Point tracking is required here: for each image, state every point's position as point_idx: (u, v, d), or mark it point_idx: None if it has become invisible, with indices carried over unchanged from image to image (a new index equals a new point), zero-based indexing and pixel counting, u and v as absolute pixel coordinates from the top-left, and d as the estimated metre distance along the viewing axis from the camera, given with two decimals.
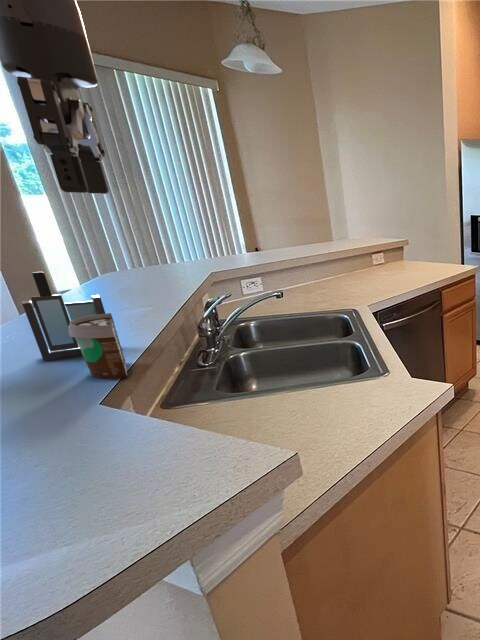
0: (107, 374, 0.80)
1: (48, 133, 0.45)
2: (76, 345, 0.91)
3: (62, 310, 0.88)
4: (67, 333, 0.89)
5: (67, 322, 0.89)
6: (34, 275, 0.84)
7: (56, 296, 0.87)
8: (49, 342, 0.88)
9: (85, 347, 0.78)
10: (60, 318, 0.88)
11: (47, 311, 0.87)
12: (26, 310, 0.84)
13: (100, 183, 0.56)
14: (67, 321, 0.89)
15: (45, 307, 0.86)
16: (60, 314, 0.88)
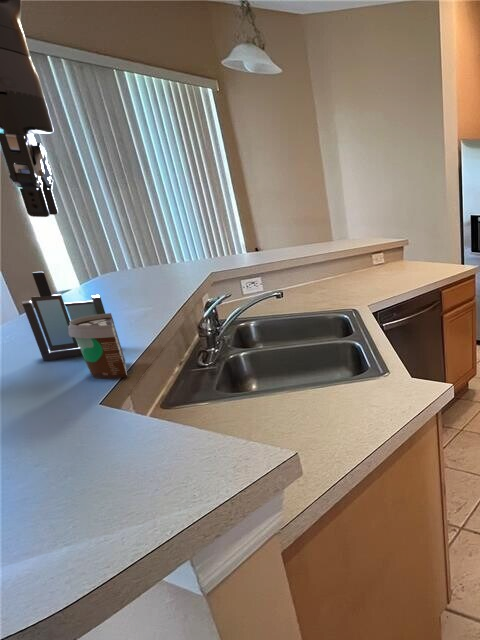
0: (107, 374, 0.80)
1: (21, 174, 0.60)
2: (76, 345, 0.91)
3: (62, 310, 0.88)
4: (67, 333, 0.89)
5: (67, 322, 0.89)
6: (34, 275, 0.84)
7: (56, 296, 0.87)
8: (49, 342, 0.88)
9: (85, 347, 0.78)
10: (60, 318, 0.88)
11: (47, 311, 0.87)
12: (26, 310, 0.84)
13: (51, 206, 0.70)
14: (67, 321, 0.89)
15: (45, 307, 0.86)
16: (60, 314, 0.88)
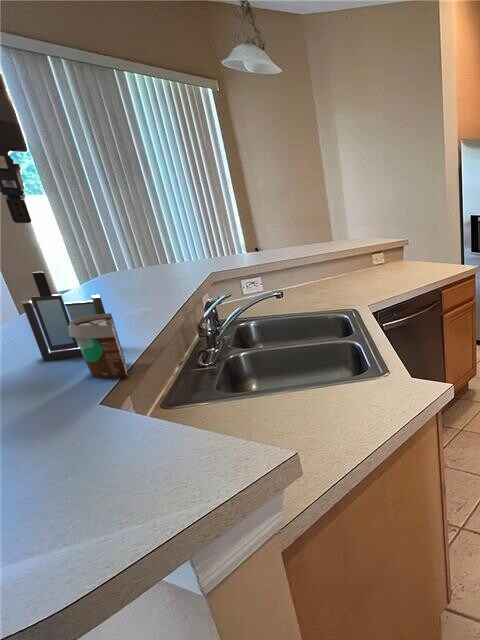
0: (107, 374, 0.80)
1: (9, 188, 0.73)
2: (76, 345, 0.91)
3: (62, 310, 0.88)
4: (67, 333, 0.89)
5: (67, 322, 0.89)
6: (34, 275, 0.84)
7: (56, 296, 0.87)
8: (49, 342, 0.88)
9: (85, 347, 0.78)
10: (60, 318, 0.88)
11: (47, 311, 0.87)
12: (26, 310, 0.84)
13: None
14: (67, 321, 0.89)
15: (45, 307, 0.86)
16: (60, 314, 0.88)
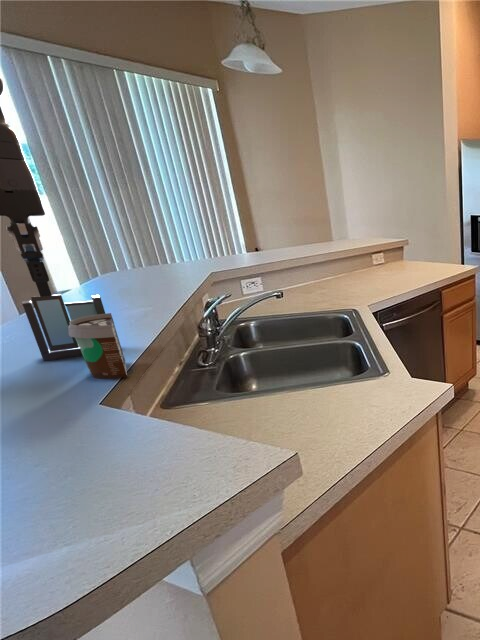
0: (107, 374, 0.80)
1: (30, 252, 0.79)
2: (76, 345, 0.91)
3: (62, 310, 0.88)
4: (67, 333, 0.89)
5: (67, 322, 0.89)
6: None
7: (56, 296, 0.87)
8: (49, 342, 0.88)
9: (85, 347, 0.78)
10: (60, 318, 0.88)
11: (47, 311, 0.87)
12: (26, 310, 0.84)
13: None
14: (67, 321, 0.89)
15: (45, 307, 0.86)
16: (60, 314, 0.88)
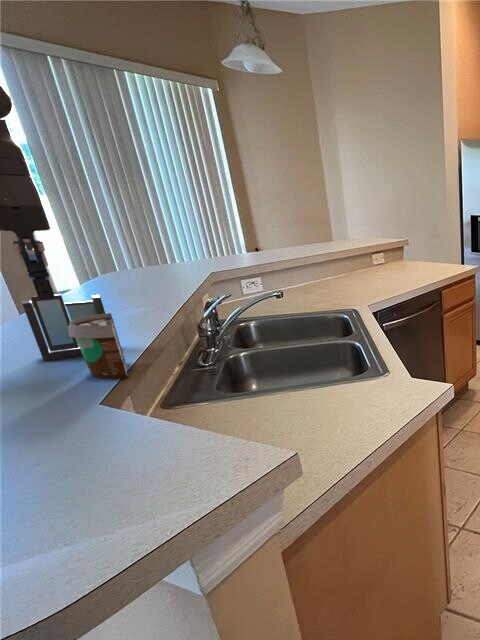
0: (107, 374, 0.80)
1: (36, 271, 0.82)
2: (76, 345, 0.91)
3: (62, 310, 0.88)
4: (67, 333, 0.89)
5: (67, 322, 0.89)
6: None
7: (56, 296, 0.87)
8: (49, 342, 0.88)
9: (85, 347, 0.78)
10: (60, 318, 0.88)
11: (47, 311, 0.87)
12: (26, 310, 0.84)
13: None
14: (67, 321, 0.89)
15: (45, 307, 0.86)
16: (60, 314, 0.88)
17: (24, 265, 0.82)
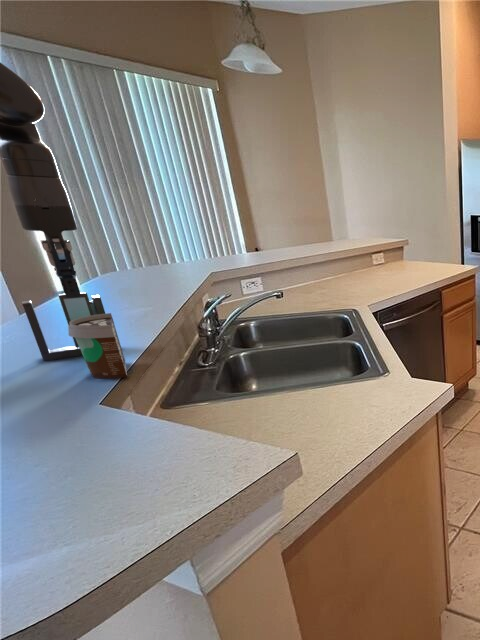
0: (107, 374, 0.80)
1: (64, 270, 0.85)
2: None
3: (88, 307, 0.91)
4: None
5: None
6: None
7: (82, 294, 0.89)
8: (75, 339, 0.91)
9: (85, 347, 0.78)
10: (85, 316, 0.91)
11: (73, 309, 0.89)
12: (26, 310, 0.84)
13: None
14: None
15: (71, 305, 0.89)
16: (85, 311, 0.91)
17: (53, 264, 0.84)
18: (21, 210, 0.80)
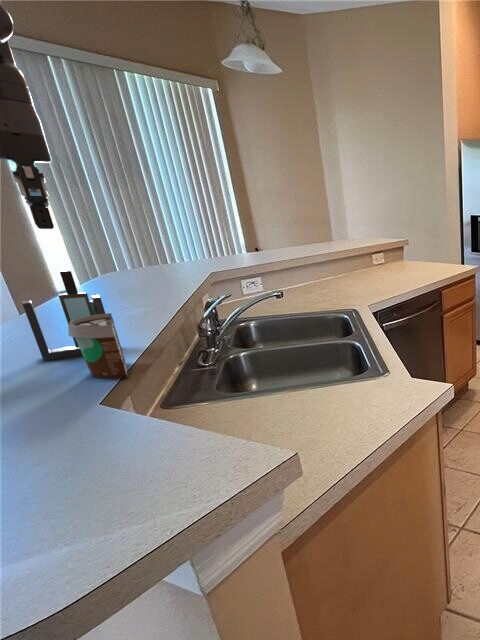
0: (107, 374, 0.80)
1: (35, 196, 0.78)
2: None
3: (88, 307, 0.91)
4: None
5: None
6: (62, 274, 0.86)
7: (82, 294, 0.89)
8: (75, 339, 0.91)
9: (85, 347, 0.78)
10: None
11: (73, 309, 0.89)
12: (26, 310, 0.84)
13: None
14: None
15: (71, 305, 0.89)
16: (85, 311, 0.91)
17: None
18: None
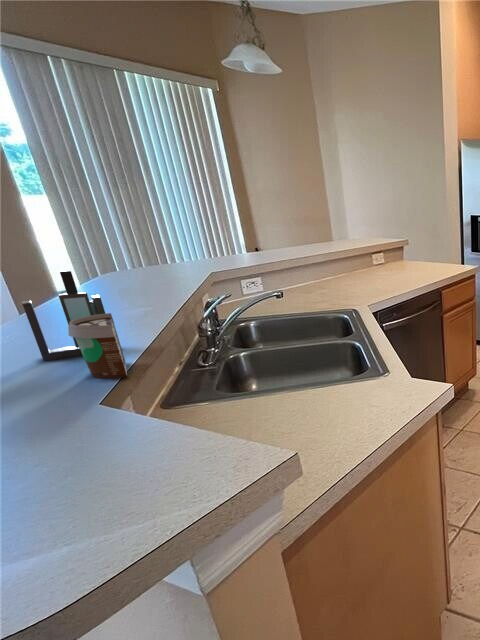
0: (107, 374, 0.80)
1: None
2: None
3: (88, 307, 0.91)
4: None
5: None
6: (62, 274, 0.86)
7: (82, 294, 0.89)
8: (75, 339, 0.91)
9: (85, 347, 0.78)
10: None
11: (73, 309, 0.89)
12: (26, 310, 0.84)
13: None
14: None
15: (71, 305, 0.89)
16: (85, 311, 0.91)
17: None
18: None
